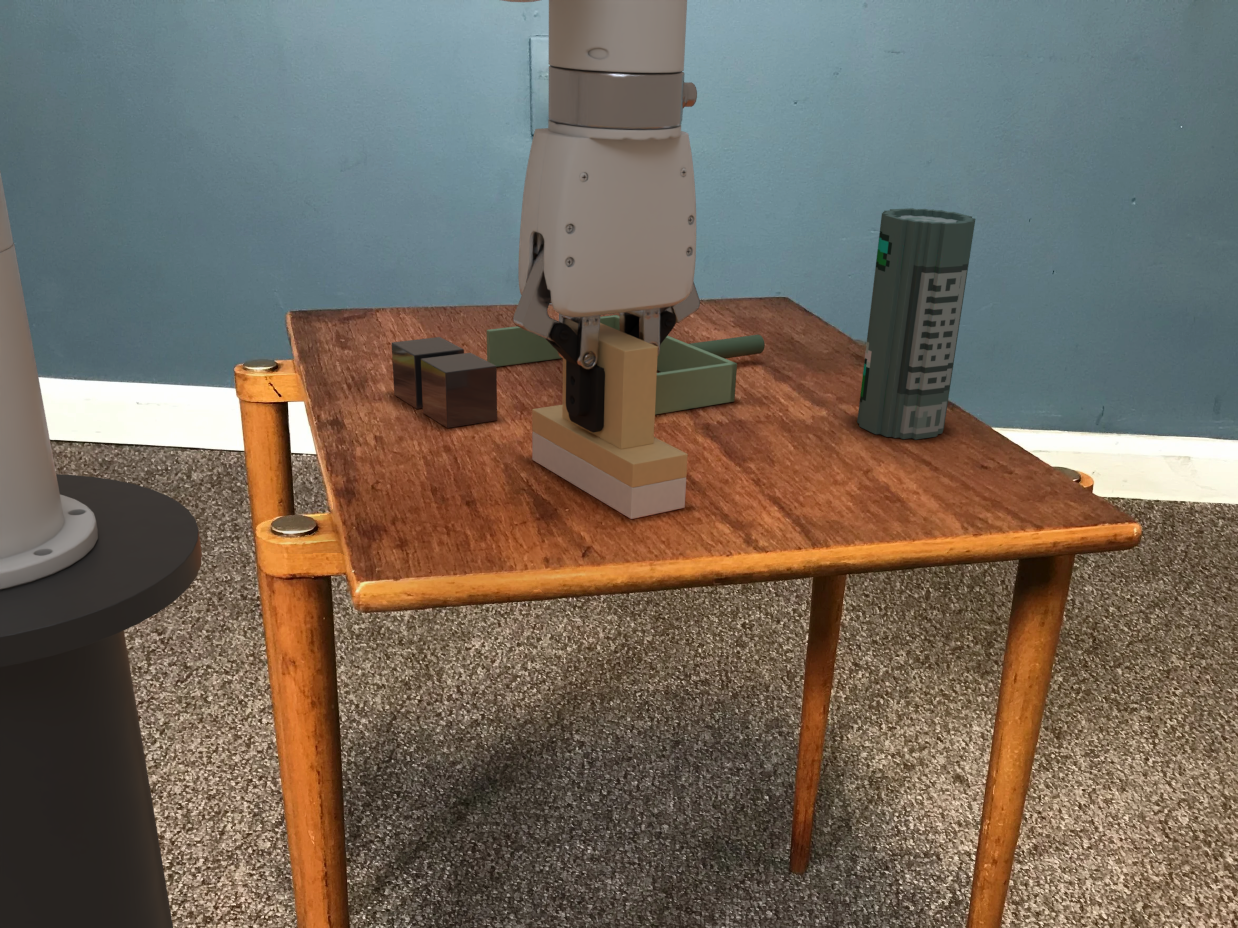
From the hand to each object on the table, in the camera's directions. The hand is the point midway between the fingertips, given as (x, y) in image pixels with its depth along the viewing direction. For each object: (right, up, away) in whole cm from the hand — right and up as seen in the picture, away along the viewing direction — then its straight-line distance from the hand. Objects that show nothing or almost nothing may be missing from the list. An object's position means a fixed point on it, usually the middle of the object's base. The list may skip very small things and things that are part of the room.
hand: (607, 420), depth 81 cm
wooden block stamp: (0, -4, +2) cm, 4 cm away
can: (+21, +2, +15) cm, 26 cm away
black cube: (-11, +3, +13) cm, 17 cm away
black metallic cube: (-14, +5, +16) cm, 22 cm away
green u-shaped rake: (+3, +8, +24) cm, 26 cm away
